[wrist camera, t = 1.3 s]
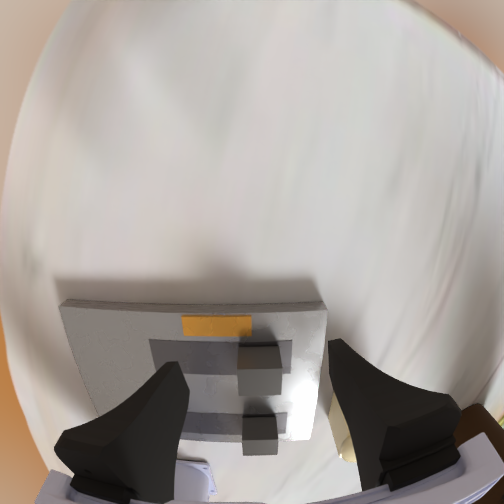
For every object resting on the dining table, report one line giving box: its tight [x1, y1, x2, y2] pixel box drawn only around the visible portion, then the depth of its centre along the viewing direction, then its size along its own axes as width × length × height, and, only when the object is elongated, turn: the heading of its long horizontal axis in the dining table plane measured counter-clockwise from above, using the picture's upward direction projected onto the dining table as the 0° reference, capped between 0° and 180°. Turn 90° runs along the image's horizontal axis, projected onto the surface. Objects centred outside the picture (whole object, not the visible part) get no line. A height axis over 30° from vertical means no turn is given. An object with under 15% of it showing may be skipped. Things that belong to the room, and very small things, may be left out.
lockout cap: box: [328, 391, 357, 462], centre depth 21 cm, size 5×5×6 cm
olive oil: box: [453, 404, 504, 504], centre depth 15 cm, size 11×11×25 cm
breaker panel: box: [59, 299, 328, 442], centre depth 22 cm, size 15×22×2 cm
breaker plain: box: [242, 417, 278, 456], centre depth 21 cm, size 2×3×3 cm
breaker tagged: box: [237, 346, 283, 396], centre depth 19 cm, size 2×3×3 cm
